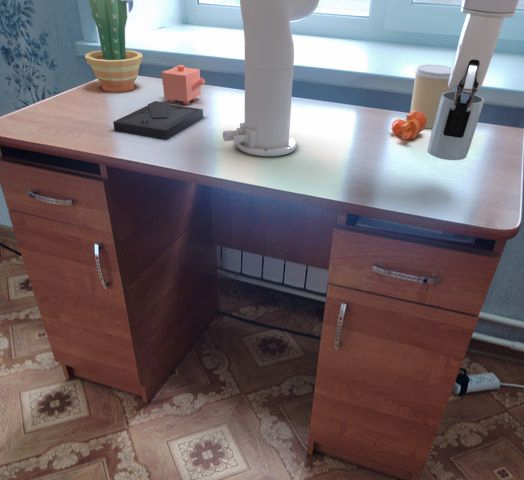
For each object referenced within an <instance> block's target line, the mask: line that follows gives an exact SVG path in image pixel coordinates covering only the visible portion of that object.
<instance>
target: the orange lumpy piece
mask: <svg viewBox="0 0 524 480" xmlns="http://www.w3.org/2000/svg"><path fill="white" fill-rule="evenodd" d="M426 122H427V118H426V116H425V115H424V114H423V113H421V112H417V110H415V111H412V112H410V111H409V113H408V114H407V115H406V121H405V120H404V119H401V118H399V119H395V120H393V122H392V123H391V127H390V128H391V131H392V133H393V134H394V135H396V136H401V138H402V140H414V139H415V138H416V137H418V136H419V134H420V133H421V132H423V131H424V130H425V129H426V128H425V125H426Z"/></svg>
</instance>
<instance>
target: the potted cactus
mask: <svg viewBox="0 0 524 480" xmlns="http://www.w3.org/2000/svg"><path fill="white" fill-rule="evenodd" d="M88 2H89V6H90V7H89V8H90V12H91V17H92V19H93V21H94V23H95V25H96V28H97V33H98V38H99V39H98V40H99V44H100V50H93V51H90V52H87V53H85V54H84V58H85V61H86V63H87V65H89V66H90V67H91V70H92V72H93V73H94V76H95V77H96V79H97V80H98V81H99V82H100V84H101V85H102V86H101V87H102V88H101V89H102V90H103V91H106V92H113V93H116V92H117V93H118V92H119V93H120V92H128V91H132V90H134V89H135V88H136V87H135V82H136V80H137V77H138V76H139V72H140V65H141V64H142V63H143V53H142V52H139V51H136V50H131V49H129V50H128V49H126V25H127V21H128V13H131V12H132V11H133V8H134V0H88ZM127 4H128V5H127ZM127 6H128V7H127Z"/></svg>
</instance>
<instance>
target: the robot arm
mask: <svg viewBox="0 0 524 480" xmlns="http://www.w3.org/2000/svg"><path fill="white" fill-rule="evenodd" d="M319 3H320V0H239V6H240V12H241V21H242V27H243V38H244V122H240V123H239V127H237V128H236V129H235V130H231V129H230V130H224V131H222V139H223V141H224V142H228V141H233V142H234V144H236V146H237V148H238V149H239V150H241V151H242V152H243V153H245V154H249V155H253V156H260V157H280V156H284V155H289V154H290V153H292V152H294V151H295V150H296V148H297V141H296V140H295V138H293V136H290V128H291V116H292V115H291V114H292V97H293V82H294V81H293V80H294V64H295V63H294V62H295V45H294V38H293V33H292V29H291V23H294V22H298V21H302V20H304V19H307V18H309V17H310V16H311V15H312V14H314V12H315V11H316V9H317V8H318V5H319ZM518 3H519V0H462V4H461V8H460V12H461V13H463V14H466V16H465V19H464V21H463V26H462V29H461V32H460V36H459V39H458V43H457V47H456V50H455V55H454V58H453V62H452V66H451V68H452V69H451V73H450V77H449V82H448V87H449V89H452V90H453V88H454V91H453V92H456V94H455V98H454V102H453V105H452V109H451V108H450V110H449V114H448V117H447V121H446V125H445V128H444V132H443V134H444V135H445V136H451V137H458V138H462V137H463V136H464V133H465V129H466V126H467V123H468V119H469V116H470V113H471V111H470V109H471V105H472V101H473V97H474V94H475V95H476V93H479V92H481V88H482V86H483V84H484V81H485V78H486V76H487V73H488V70H489V67H490V65H491V62H492V58H493V55H494V53H495V52H494V51H495V49H496V46H497V42H498V40H499V36H500V33H501V29H502V28H503V27H502V26H503V23H504V19H507V18H509V19H510V18H513V17H514V16H515V12H516V11H517V6H518ZM452 87H453V88H452ZM459 94H460V95H459Z"/></svg>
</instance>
